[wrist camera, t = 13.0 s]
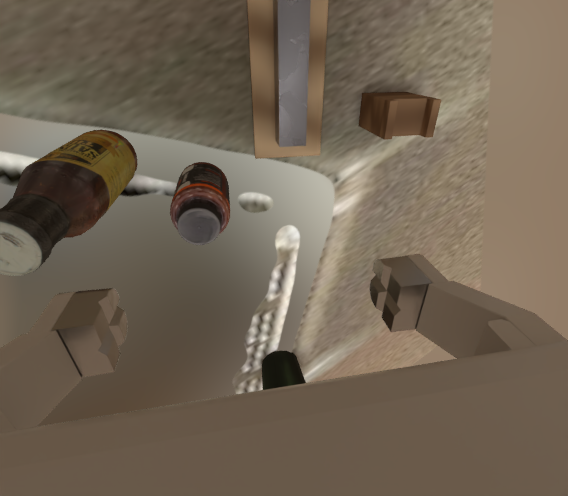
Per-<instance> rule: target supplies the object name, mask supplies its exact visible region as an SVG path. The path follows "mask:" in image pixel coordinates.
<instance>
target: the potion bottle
mask: <svg viewBox="0 0 568 496" xmlns="http://www.w3.org/2000/svg"><path fill="white" fill-rule="evenodd" d="M262 382H263V390H267V389H273V388H279V387H285V386H292V385H298V384H304V383H306V382H305V380H304V377H303V374H302V371H301V369H300V366H299V363H298V360H297V358H296V356H295V355H294V354H293V353H290V352H288V351H277V352H273V353H272V354H270V355H268V356H267V357H266V358H265V359H264V361H263V364H262Z"/></svg>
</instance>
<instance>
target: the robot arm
mask: <svg viewBox="0 0 568 496" xmlns="http://www.w3.org/2000/svg"><path fill="white" fill-rule="evenodd" d="M373 272H374V273H375V274H376V275H375V277H374V278H373V279H372V280H371V283H370V295H371V299H372V302H373V304H374V306H375V307H376V308H377V309H379V310H380V311H382V312H383V313H382V319H383V320H384V322H385V323H386V325H387V327H388V328H389V330H390V331H391V332H396V331H404V330H413V329H416V331H418V332H419V333H421V334H422V335H423V336H425V337H426V338H428V339H429V340H431V341H432V342H434V343H435V344H437V345H438V346H440V347H441V348H442V349H444V350H445V351H447V352H448V353H450V354H451V355H453V356H454V357H456V358H457V359H453V360H447V361H440V362H434V363H428V364H422V365H416V366H410V367H404V368H398V369H391V370H385V371H379V372H373V373H366V374H360V375H354V376H348V377H341V378H335V379H329V380H323V381H316V382H310V383H304V384H298V385H292V386H285V387H279V388H273V389H267V390H261V391H255V392H249V393H242V394H236V395H230V396H224V397H218V398H212V399H205V400H200V401H194V402H187V403H181V404H175V405H168V406H162V407H156V408H150V409H144V410H138V411H131V412H126V413H119V414H113V415H107V416H100V417H95V418H88V419H82V420H76V421H70V422H63V423H57V424H51V425H45V426H39V427H37V425H38V424H39V423H40V422H41V421H42V420H43V419H44V418H45V417H46V416H47V415H48V414H49V413H50V412H51V411H52V410H53V409H54V408H55V407H56V406H57V405H58V404H59V402H60V401H61V400H62V399H63V398H64V397H65V396H66V395H67V394H68V393H69V392H70V391H71V390H72V389H73V388H74V387H75V386H76V385H77V384H78V383H79V382H80V381H81V380H82V377H88V376H93V375H99V374H105V373H111V372H114V371H115V368H116V365H117V362H118V359H119V356H120V354H121V353H120V350H119V348H118V347H119V346H120V345H121V344H122V343H123V342H124V341H125V338H126V335H127V318H126V315H125V311H124V310H123V309H121V308H120V307H118V306H117V305H118V303H119V300H120V298H119V295H118V293H117V291H116V290H115V289H113V288H110V289H99V290H88V291H78V292H67V293H59V294H57V295H55V296H54V297H53V298H52V300H51V301H50V303H49V304H48V306H47V307H46V308H45V310H44V311H43V313H42V314H41V316H40V317H39V319H38V320H37V321H36V323H35V324H34V326H33V327H32V329H31V330H30V332H29V333H28V334H23V335H20V336H18V337H17V338H15V339H14V340H12V341H11V342H9V343H8V344H6V345H4V346H3V347H1V348H0V496H568V340H567V339H565V338H564V337H563V336H562V335H561V334H559V333H558V332H557V331H555V330H554V329H553V328H552V327H551V326H549V325H548V324H547V323H546V322H545V321H543V320H542V319H541V318H540V317H539V316H537V315H536V314H535V313H532V312H530V311H527V310H525V309H523V308H520V307H517V306H515V305H512V304H510V303H507V302H505V301H502V300H500V299H497V298H495V297H492V296H490V295H487V294H485V293H482V292H480V291H477V290H475V289H472V288H470V287H467V286H465V285H462V284H460V283H457V282H455V281H448V280H447V279H446V278H445V277H444V276H443V275H442V274H441V273H440V272H439V271H438V270H437V269H436V268H435V267H434V266H433V265H432V264H431V263H430V262H429V261H428V260H427V259H426V258H425V257H424V256H423V255H420V254H414V255H407V256H402V257H394V258H386V259H377V260H375V262H374V264H373Z"/></svg>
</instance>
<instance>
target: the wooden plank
mask: <svg viewBox="0 0 568 496" xmlns="http://www.w3.org/2000/svg"><path fill="white" fill-rule="evenodd" d="M247 9H248V28H249V47H250V67H251V86H252V105H253V124H254V143H255V158H256V159H257V158H275V157H294V156H313V155H320V145H321V127H322V109H323V90H324V72H325V54H326V35H327V17H328V0H311V4H310V36H309V68H308V100H307V132H306V146H290V147H279V145H278V144H277V142H276V141H275V85H274V30H273V0H247Z"/></svg>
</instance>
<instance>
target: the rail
mask: <svg viewBox="0 0 568 496" xmlns="http://www.w3.org/2000/svg"><path fill="white" fill-rule="evenodd" d="M310 4H311V0H273V30H274V85H275V141H276V142H277V144H278V145H279V147H290V146H306V132H307V100H308V68H309V36H310Z"/></svg>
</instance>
